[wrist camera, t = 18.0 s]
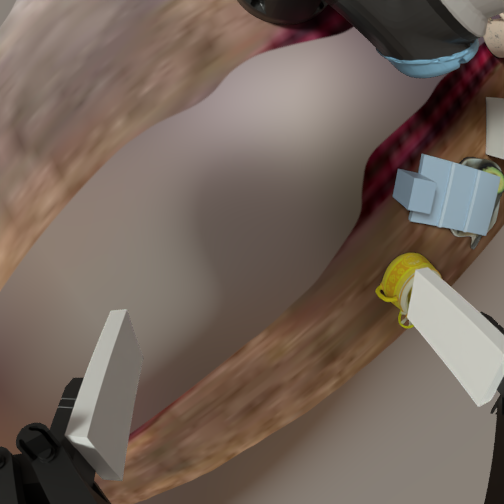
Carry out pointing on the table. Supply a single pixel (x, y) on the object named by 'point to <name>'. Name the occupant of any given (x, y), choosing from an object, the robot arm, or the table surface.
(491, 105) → the tub
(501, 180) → the salad plate
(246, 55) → the table surface
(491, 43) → the teacup with lid
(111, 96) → the table surface
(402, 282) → the mug
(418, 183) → the light blue l-shaped piece
